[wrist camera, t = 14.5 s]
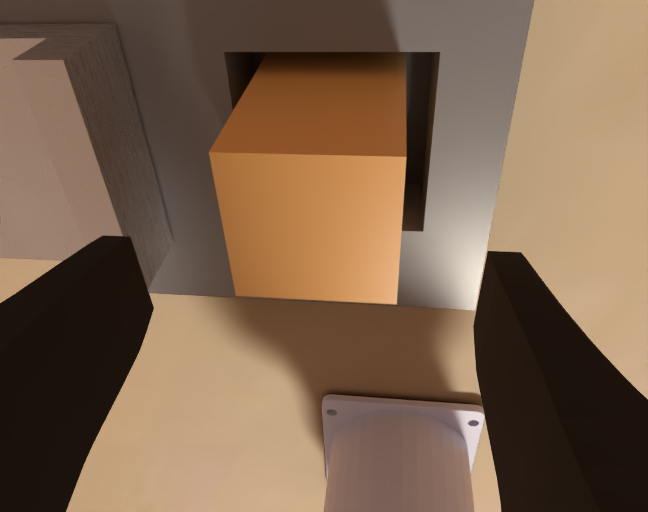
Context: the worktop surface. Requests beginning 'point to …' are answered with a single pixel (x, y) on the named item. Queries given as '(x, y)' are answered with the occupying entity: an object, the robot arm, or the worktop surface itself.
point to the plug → (316, 177)
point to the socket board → (322, 36)
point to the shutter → (73, 147)
